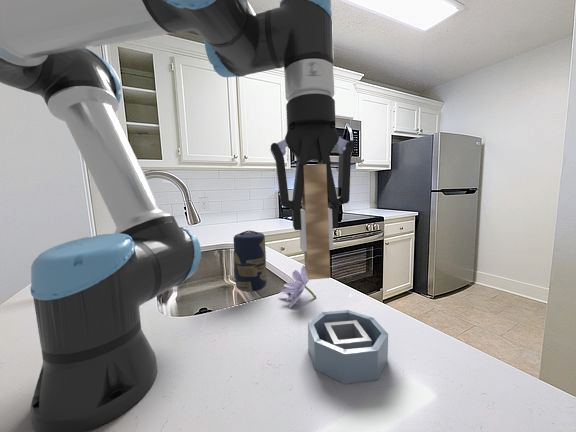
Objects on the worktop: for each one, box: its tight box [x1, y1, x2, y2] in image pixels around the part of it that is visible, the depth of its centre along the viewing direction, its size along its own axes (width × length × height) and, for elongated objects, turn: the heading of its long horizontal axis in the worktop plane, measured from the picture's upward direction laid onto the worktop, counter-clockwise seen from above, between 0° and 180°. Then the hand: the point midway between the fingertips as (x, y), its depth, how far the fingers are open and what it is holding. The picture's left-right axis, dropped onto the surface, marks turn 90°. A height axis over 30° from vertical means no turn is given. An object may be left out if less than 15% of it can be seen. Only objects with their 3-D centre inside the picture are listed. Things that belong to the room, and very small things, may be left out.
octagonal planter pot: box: [307, 309, 389, 385], centre depth 44 cm, size 13×13×5 cm
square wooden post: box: [301, 163, 331, 281], centre depth 40 cm, size 4×4×18 cm
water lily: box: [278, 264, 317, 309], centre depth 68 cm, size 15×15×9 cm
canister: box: [233, 230, 267, 293], centre depth 75 cm, size 10×10×18 cm
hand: (316, 248), depth 40 cm, fingers closed on square wooden post, 3 cm apart
